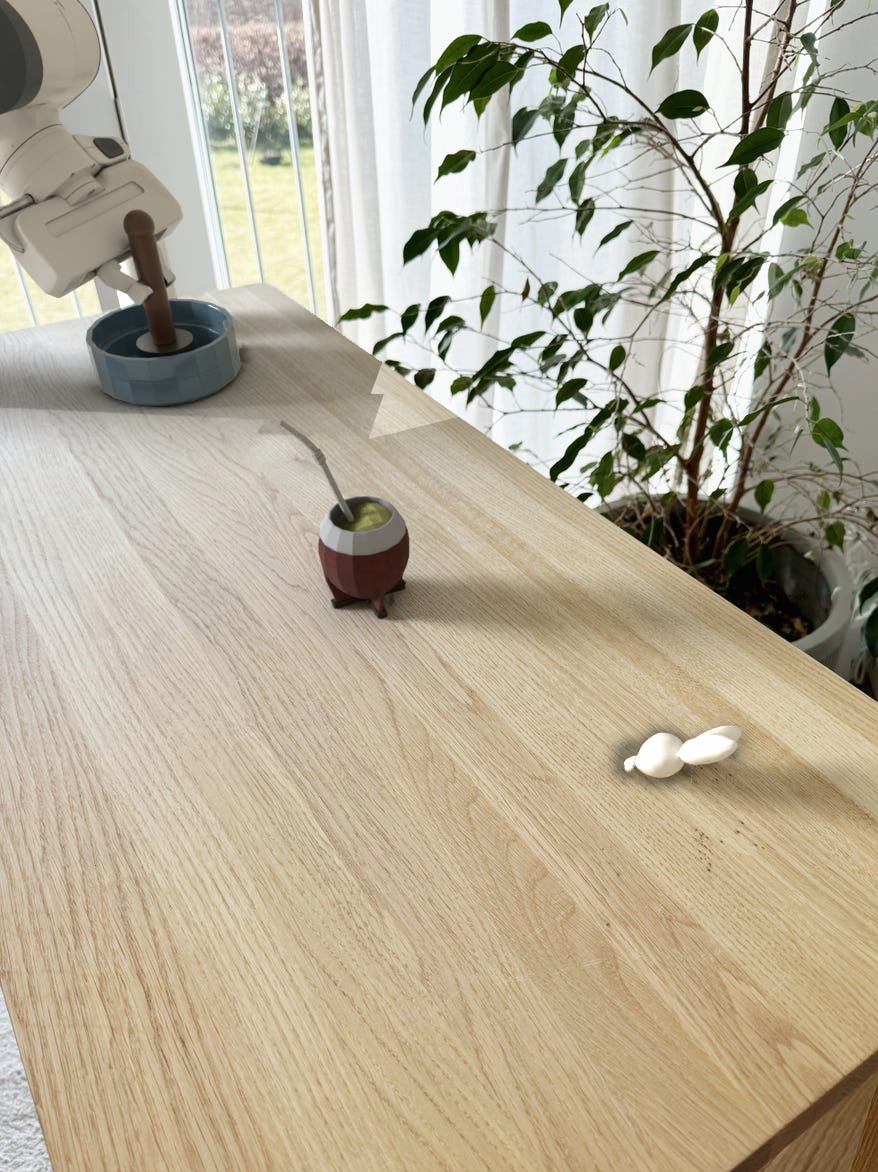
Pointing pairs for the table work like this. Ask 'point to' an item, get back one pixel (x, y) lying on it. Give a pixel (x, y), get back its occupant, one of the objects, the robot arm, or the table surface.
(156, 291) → the wooden handled press
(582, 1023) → the table surface
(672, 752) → the rabbit figurine
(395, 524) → the mate gourd
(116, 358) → the bowl
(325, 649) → the table surface
